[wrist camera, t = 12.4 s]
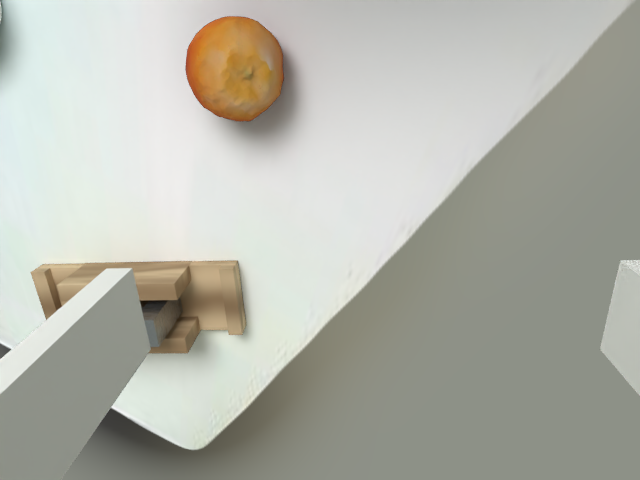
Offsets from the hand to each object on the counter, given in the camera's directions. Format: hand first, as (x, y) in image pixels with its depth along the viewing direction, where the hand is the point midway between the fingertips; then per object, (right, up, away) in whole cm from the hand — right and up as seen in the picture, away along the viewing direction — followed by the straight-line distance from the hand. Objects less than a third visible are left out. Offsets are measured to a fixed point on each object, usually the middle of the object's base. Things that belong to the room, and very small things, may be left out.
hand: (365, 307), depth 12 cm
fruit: (-8, +17, +28) cm, 34 cm away
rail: (-21, -4, +38) cm, 43 cm away
